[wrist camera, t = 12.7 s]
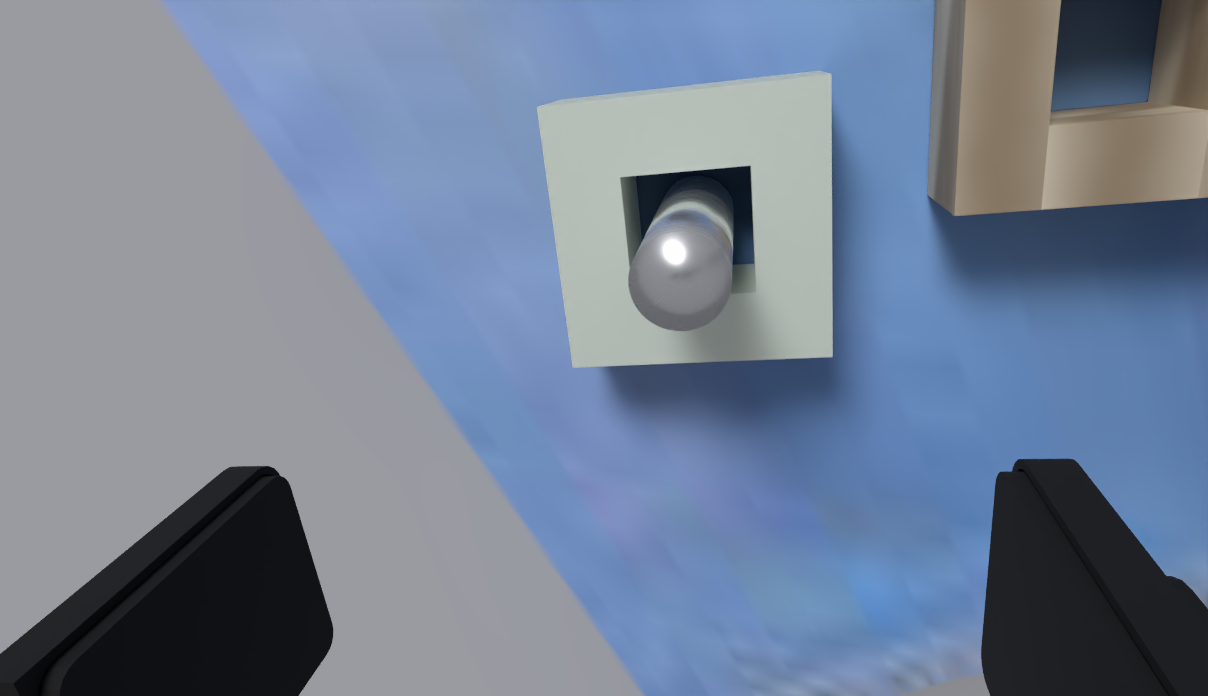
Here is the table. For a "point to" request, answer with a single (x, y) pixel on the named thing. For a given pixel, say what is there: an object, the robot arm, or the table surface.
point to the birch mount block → (1059, 115)
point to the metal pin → (686, 257)
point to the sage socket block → (688, 143)
